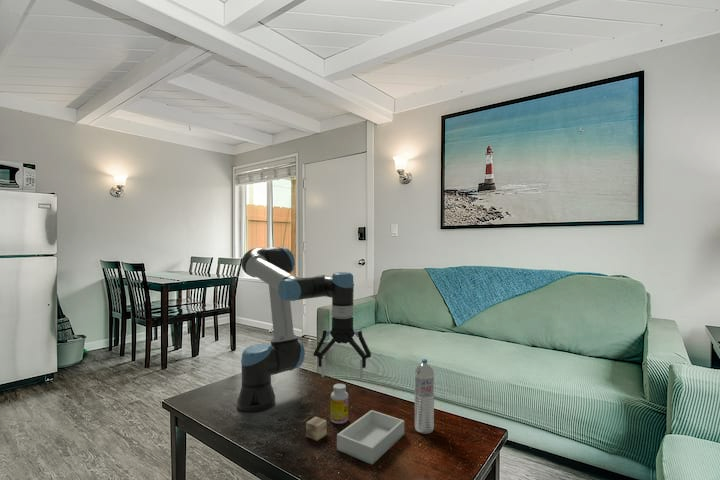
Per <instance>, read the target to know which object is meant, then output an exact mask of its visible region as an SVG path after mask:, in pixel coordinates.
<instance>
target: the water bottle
mask: <svg viewBox="0 0 720 480" xmlns="http://www.w3.org/2000/svg"><path fill="white" fill-rule="evenodd" d="M414 376H415V377H414V429H415V431H416V432H418V433H420V434H423V435H428V434H431V433H433V431H434V429H435V428H434V427H435V393H434V391H435V390H434V388H435V385H434V383H435V381H434V380H435V379H434V378H435V371H434V369H433V368H432V367H431V365H430V364H428V359H426V358H423V359H421V364H419V365H418V366H417V367H416V368H415V370H414Z"/></svg>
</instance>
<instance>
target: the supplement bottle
mask: <svg viewBox="0 0 720 480" xmlns="http://www.w3.org/2000/svg"><path fill="white" fill-rule="evenodd" d="M346 389H347V386H346V384H344V383H335V384H333V389H332V390H333V391H332V392H331V393H330V422H331V423H333V424H338V425H339V424H340V425H341V424H345V423H346V422H348V420H349V393H348V392H347V391H346Z"/></svg>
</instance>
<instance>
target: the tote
mask: <svg viewBox="0 0 720 480" xmlns="http://www.w3.org/2000/svg"><path fill="white" fill-rule="evenodd" d="M404 436H405V420H404V419H401V418H397V417H395V416H392V415H388V414H385V413H382V412H379V411H376V410H374V409H371V410H369V411H367V413H365V414H364V415H362V416H361V417H359V418H358V419H357V420H355V421H353V422H352V423H351V424H349V425H348V426H347V427H345V428H344V429H343V430H341V431H340V432H338V433H337V434H336V450H337V451H339V452H341V453H343V454H346V455H348V456H350V457H352V458H353V457H354V459H355V458H356V459H358V460H360V461H362V462H365V463H367V464H370V465H371V466H373V464H375V463H376V462H377V461H378V460H379V459H380V458H381V457H382V456H383V455H384V454H385V453H387V451H389V450H390V449H391V448H392V447H393V446H394V445H395V444H396V443H397V442H398V441H399V440H401V438H402V437H404Z"/></svg>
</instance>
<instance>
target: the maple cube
mask: <svg viewBox="0 0 720 480" xmlns="http://www.w3.org/2000/svg"><path fill="white" fill-rule="evenodd" d="M327 423H328V422H327V419H324V418H321V417H319V416H314V417H313V418H311V419H310V420H308V421H306V422H305V430H306V431H305V437H306V438H309V439H311V440H314V441H315V442H318V441H319V440H320V439H322V438H324V437H326V436H327V435H328V434H327V433H328V432H327V427H328V425H327Z"/></svg>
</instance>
